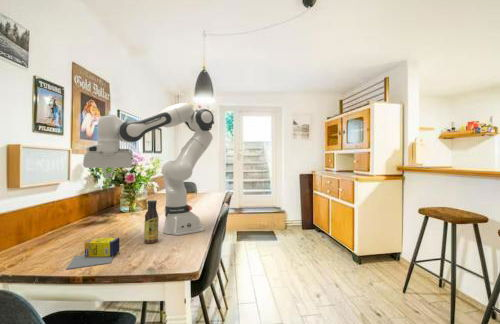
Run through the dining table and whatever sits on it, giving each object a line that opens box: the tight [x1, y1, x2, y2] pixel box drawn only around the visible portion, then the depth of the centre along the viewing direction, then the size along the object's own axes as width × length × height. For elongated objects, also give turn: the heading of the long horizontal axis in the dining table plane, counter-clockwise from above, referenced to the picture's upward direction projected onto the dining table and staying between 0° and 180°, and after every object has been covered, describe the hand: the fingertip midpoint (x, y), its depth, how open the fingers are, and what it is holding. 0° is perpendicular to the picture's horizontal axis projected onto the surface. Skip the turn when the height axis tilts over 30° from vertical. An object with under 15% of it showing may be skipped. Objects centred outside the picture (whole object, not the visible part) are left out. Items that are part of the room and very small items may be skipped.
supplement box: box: [84, 237, 120, 257], centre depth 99 cm, size 6×6×11 cm
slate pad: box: [65, 254, 115, 271], centre depth 94 cm, size 14×12×1 cm
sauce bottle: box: [143, 199, 159, 244], centre depth 115 cm, size 7×6×20 cm
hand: (108, 177), depth 116 cm, fingers closed
